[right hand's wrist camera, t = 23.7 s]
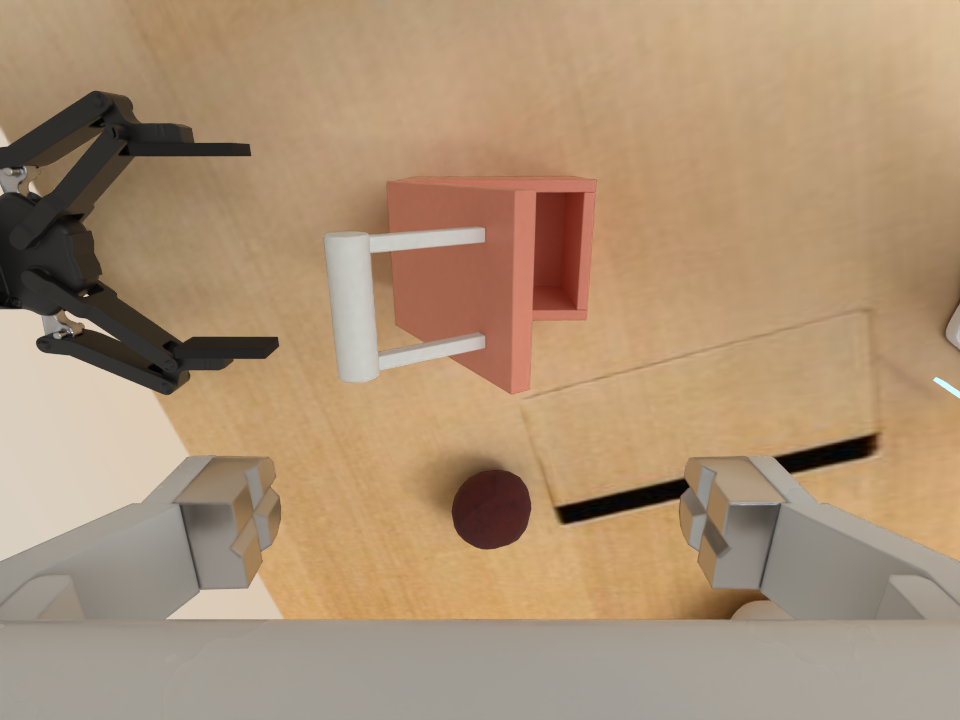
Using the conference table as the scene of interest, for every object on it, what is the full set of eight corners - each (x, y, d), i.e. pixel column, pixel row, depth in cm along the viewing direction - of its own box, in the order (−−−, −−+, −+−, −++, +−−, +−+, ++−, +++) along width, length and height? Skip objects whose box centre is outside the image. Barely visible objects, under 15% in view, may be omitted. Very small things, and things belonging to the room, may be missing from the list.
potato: (439, 488, 53) (433, 534, 47) (493, 440, 51) (495, 482, 45) (490, 530, 55) (491, 581, 48) (544, 486, 53) (554, 532, 47)
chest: (574, 176, 43) (596, 180, 35) (568, 292, 46) (586, 320, 38) (411, 176, 43) (396, 180, 35) (417, 293, 46) (404, 321, 38)
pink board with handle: (537, 189, 23) (341, 197, 19) (530, 390, 27) (363, 435, 22) (402, 180, 34) (260, 184, 30) (410, 322, 38) (283, 344, 33)
